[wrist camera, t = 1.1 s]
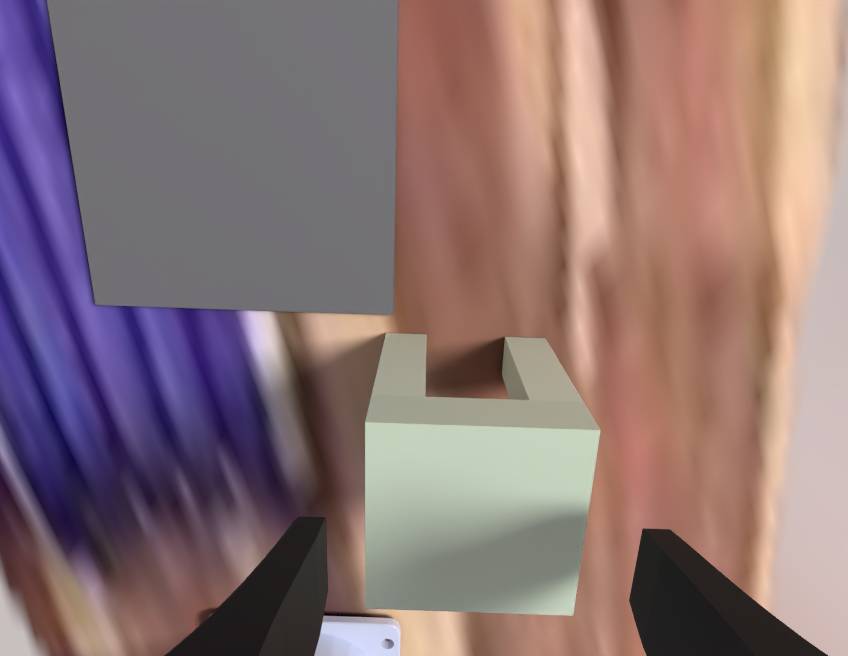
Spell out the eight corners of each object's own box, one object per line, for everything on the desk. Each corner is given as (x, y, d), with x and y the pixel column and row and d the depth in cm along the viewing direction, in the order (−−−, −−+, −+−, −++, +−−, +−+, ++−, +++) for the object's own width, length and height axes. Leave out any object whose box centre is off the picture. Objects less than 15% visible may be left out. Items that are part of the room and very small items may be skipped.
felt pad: (393, 312, 19) (393, 314, 19) (100, 302, 19) (95, 304, 19) (399, -25, 16) (398, -28, 15) (47, -37, 16) (40, -40, 15)
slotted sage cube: (530, 476, 21) (573, 615, 15) (384, 471, 21) (365, 608, 15) (545, 338, 19) (599, 430, 13) (386, 332, 19) (364, 422, 13)
